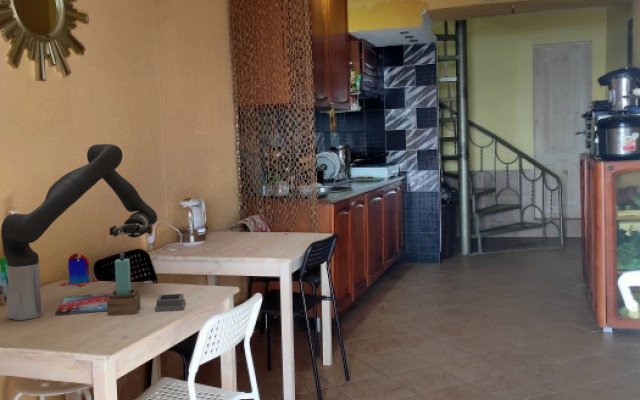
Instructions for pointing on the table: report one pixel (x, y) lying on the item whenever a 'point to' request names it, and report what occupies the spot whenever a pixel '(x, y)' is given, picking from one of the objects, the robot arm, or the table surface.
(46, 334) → the table surface
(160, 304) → the lower dock
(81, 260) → the fantasy tower
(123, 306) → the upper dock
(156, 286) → the table surface
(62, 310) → the tablet
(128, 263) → the plug block
